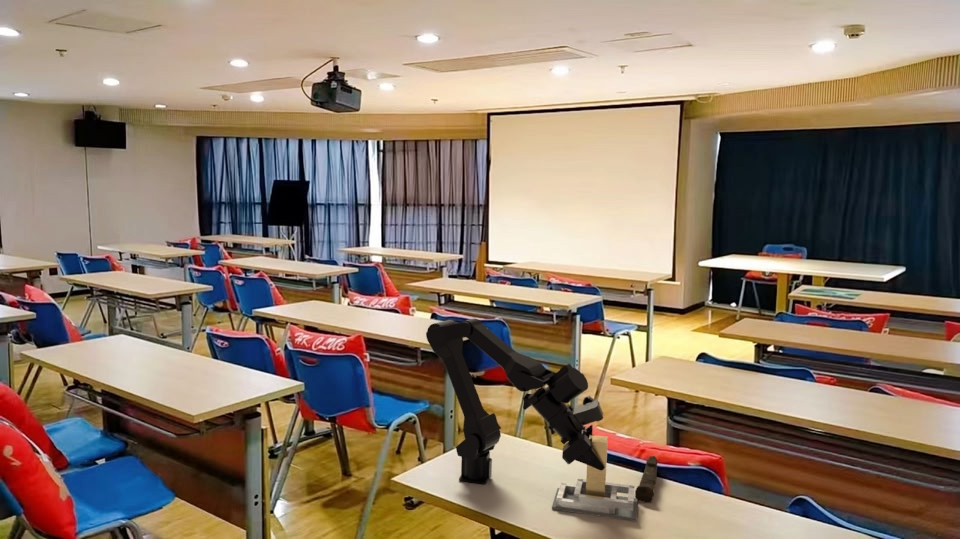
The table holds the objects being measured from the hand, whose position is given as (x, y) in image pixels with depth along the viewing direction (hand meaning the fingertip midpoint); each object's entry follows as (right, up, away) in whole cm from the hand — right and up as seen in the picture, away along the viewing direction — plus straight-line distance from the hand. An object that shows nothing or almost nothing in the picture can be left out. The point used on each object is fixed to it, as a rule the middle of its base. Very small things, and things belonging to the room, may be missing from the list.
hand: (603, 464), depth 146 cm
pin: (-2, -7, +1) cm, 7 cm away
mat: (-2, -9, +1) cm, 9 cm away
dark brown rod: (+13, -9, +12) cm, 20 cm away
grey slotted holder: (-2, -9, +1) cm, 9 cm away
